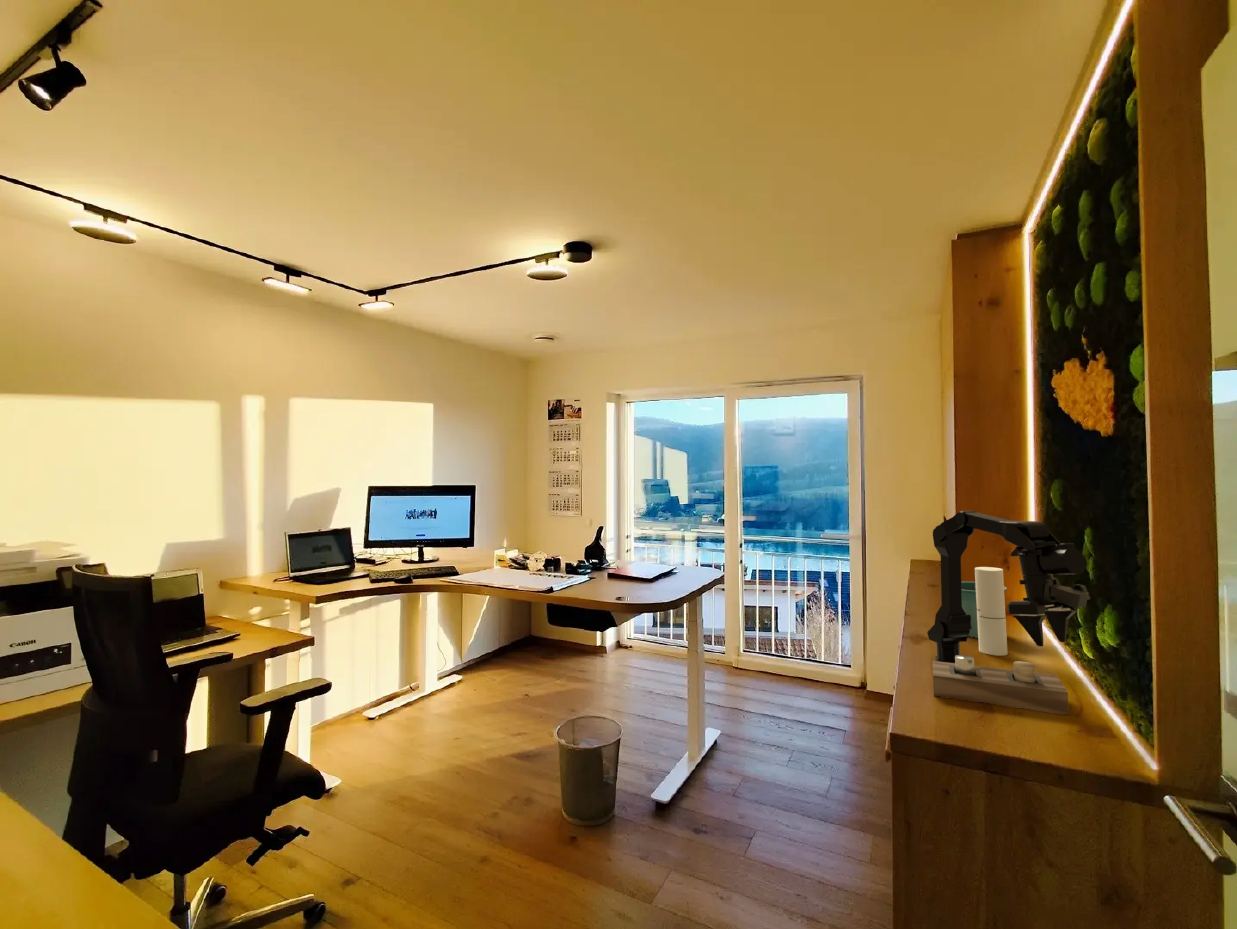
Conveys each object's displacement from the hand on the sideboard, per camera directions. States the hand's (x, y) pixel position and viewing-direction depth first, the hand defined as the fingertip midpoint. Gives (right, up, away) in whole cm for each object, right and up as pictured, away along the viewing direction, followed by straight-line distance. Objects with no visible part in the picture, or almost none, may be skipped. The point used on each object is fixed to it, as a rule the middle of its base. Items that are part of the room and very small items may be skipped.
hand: (1051, 644), depth 126 cm
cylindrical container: (+14, -16, +40) cm, 45 cm away
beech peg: (-3, -11, +4) cm, 12 cm away
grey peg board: (-8, -15, +7) cm, 18 cm away
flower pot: (+22, -16, +58) cm, 64 cm away
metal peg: (-13, -12, +10) cm, 20 cm away
